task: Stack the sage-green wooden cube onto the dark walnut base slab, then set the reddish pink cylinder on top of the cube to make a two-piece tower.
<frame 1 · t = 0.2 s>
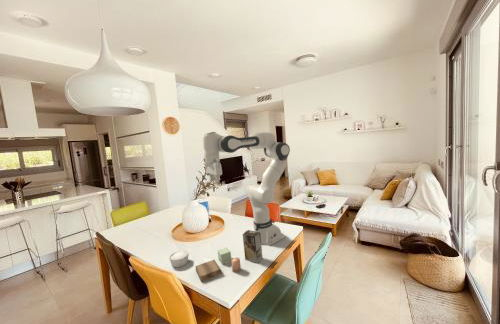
hand: (214, 181, 129), 47 cm above the table, fingers open, 8 cm apart
reddish pink cylinder: (236, 270, 116), on the table
ramekin: (180, 263, 128), on the table
walnut base: (208, 272, 115), on the table
coffee box: (253, 259, 125), on the table
green cube: (224, 260, 126), on the table
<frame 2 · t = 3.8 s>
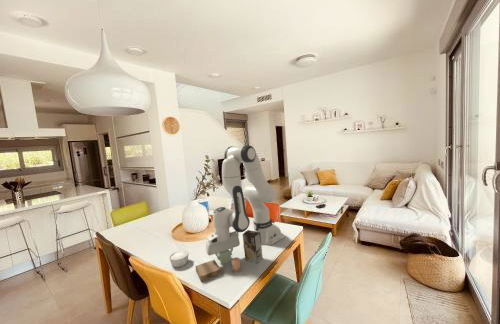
hand: (224, 256, 126), 2 cm above the table, fingers closed on green cube, 6 cm apart
green cube: (224, 260, 126), on the table, touching gripper
everything else where it was.
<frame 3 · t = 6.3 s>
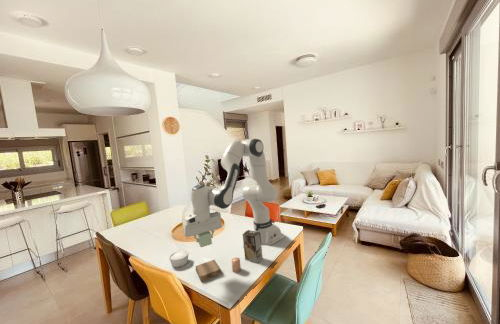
hand: (204, 239, 114), 19 cm above the table, fingers closed on green cube, 6 cm apart
green cube: (205, 243, 114), point 17 cm above the table, touching gripper
everything else where it was.
when the fingers open (6 cm above the table, at t = 9.1 s): green cube stays where it is, resting on walnut base.
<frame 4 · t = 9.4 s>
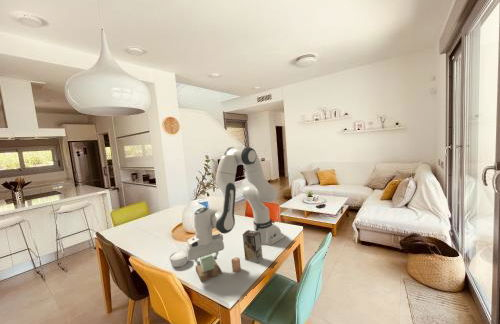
hand: (207, 262, 115), 6 cm above the table, fingers open, 8 cm apart
green cube: (207, 267, 115), point 3 cm above the table, touching walnut base
everything else where it was.
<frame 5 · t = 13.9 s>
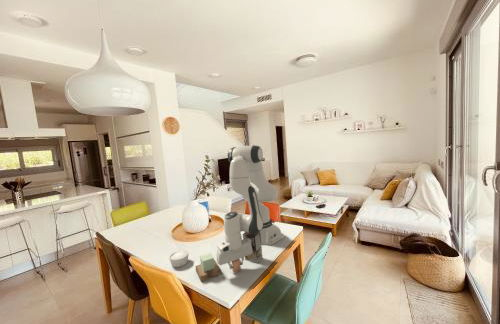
hand: (236, 266, 115), 2 cm above the table, fingers closed on reddish pink cylinder, 5 cm apart
reddish pink cylinder: (236, 270, 116), on the table, touching gripper
everything else where it was.
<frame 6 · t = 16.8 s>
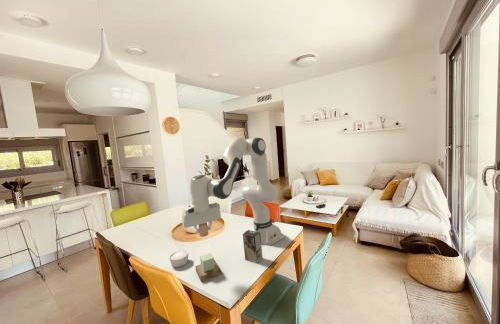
hand: (203, 230, 113), 24 cm above the table, fingers closed on reddish pink cylinder, 5 cm apart
reddish pink cylinder: (204, 234, 113), point 22 cm above the table, touching gripper
everything else where it was.
when the fingers open (12 cm above the table, at t = 19.8 s): reddish pink cylinder drops 1 cm, resting on green cube.
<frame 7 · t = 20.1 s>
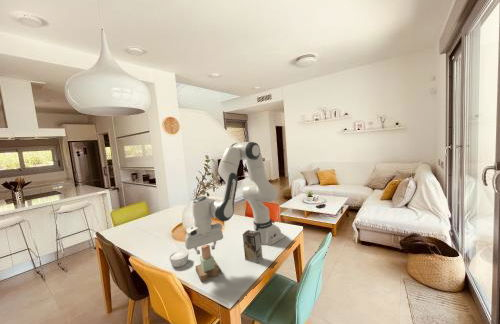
hand: (206, 251, 114), 12 cm above the table, fingers open, 7 cm apart
reddish pink cylinder: (206, 257, 114), point 9 cm above the table, touching green cube
green cube: (207, 267, 115), point 3 cm above the table, touching reddish pink cylinder, walnut base
everything else where it was.
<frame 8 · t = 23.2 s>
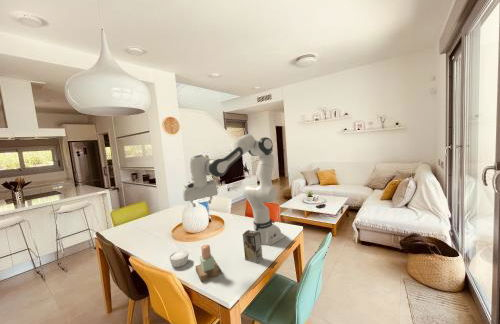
hand: (202, 205, 126), 34 cm above the table, fingers open, 8 cm apart
nothing on the table moved.
at the end: green cube inside the target area on the walnut base (0.1 cm from its centre), point 3.0 cm above the walnut base's base; reddish pink cylinder 0.1 cm off-centre on the green cube, point 6.0 cm above the green cube's base; reddish pink cylinder tilted 0° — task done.
